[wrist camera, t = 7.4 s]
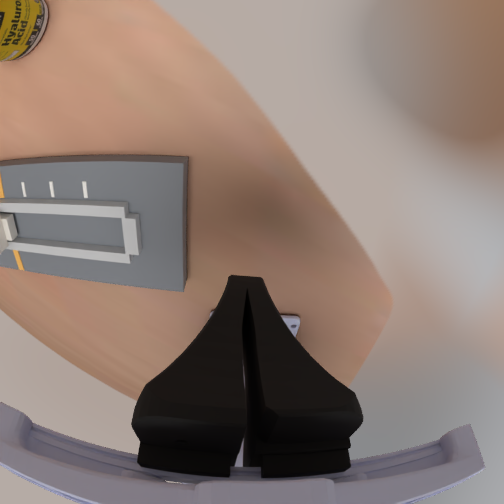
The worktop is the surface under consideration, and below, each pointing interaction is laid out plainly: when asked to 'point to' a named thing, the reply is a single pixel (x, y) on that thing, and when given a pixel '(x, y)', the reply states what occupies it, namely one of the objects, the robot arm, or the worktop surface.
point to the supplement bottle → (21, 27)
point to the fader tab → (7, 230)
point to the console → (99, 218)
